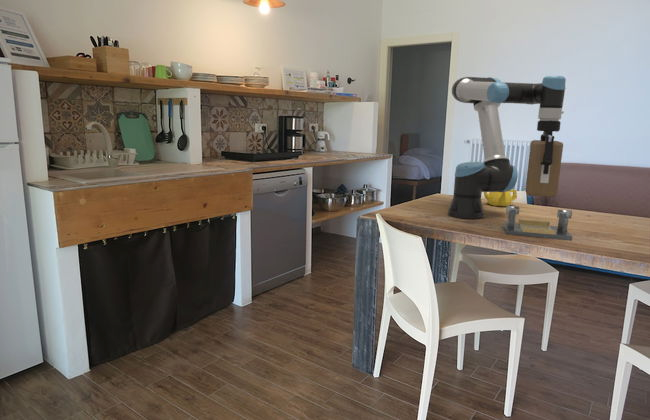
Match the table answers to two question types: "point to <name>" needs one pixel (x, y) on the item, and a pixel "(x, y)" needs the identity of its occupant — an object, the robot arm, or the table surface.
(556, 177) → the wooden block
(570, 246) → the table surface
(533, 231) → the grey metal fixture stand
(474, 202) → the robot arm
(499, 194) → the yellow rounded piece
